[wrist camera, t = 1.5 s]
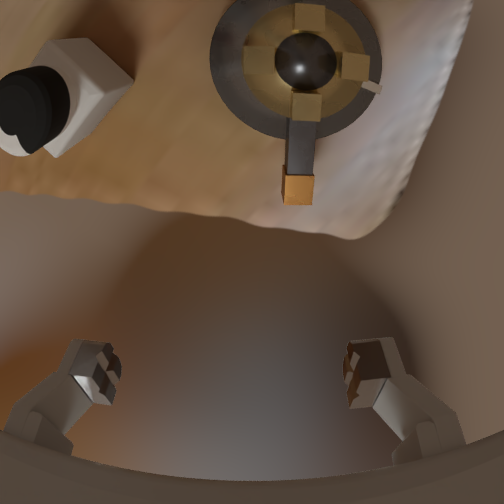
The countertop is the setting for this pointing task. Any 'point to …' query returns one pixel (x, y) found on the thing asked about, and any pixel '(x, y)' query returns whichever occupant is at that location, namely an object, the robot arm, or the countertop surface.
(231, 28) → the plate
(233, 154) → the countertop surface
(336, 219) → the countertop surface
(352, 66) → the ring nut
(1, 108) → the medicine bottle
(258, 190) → the countertop surface
